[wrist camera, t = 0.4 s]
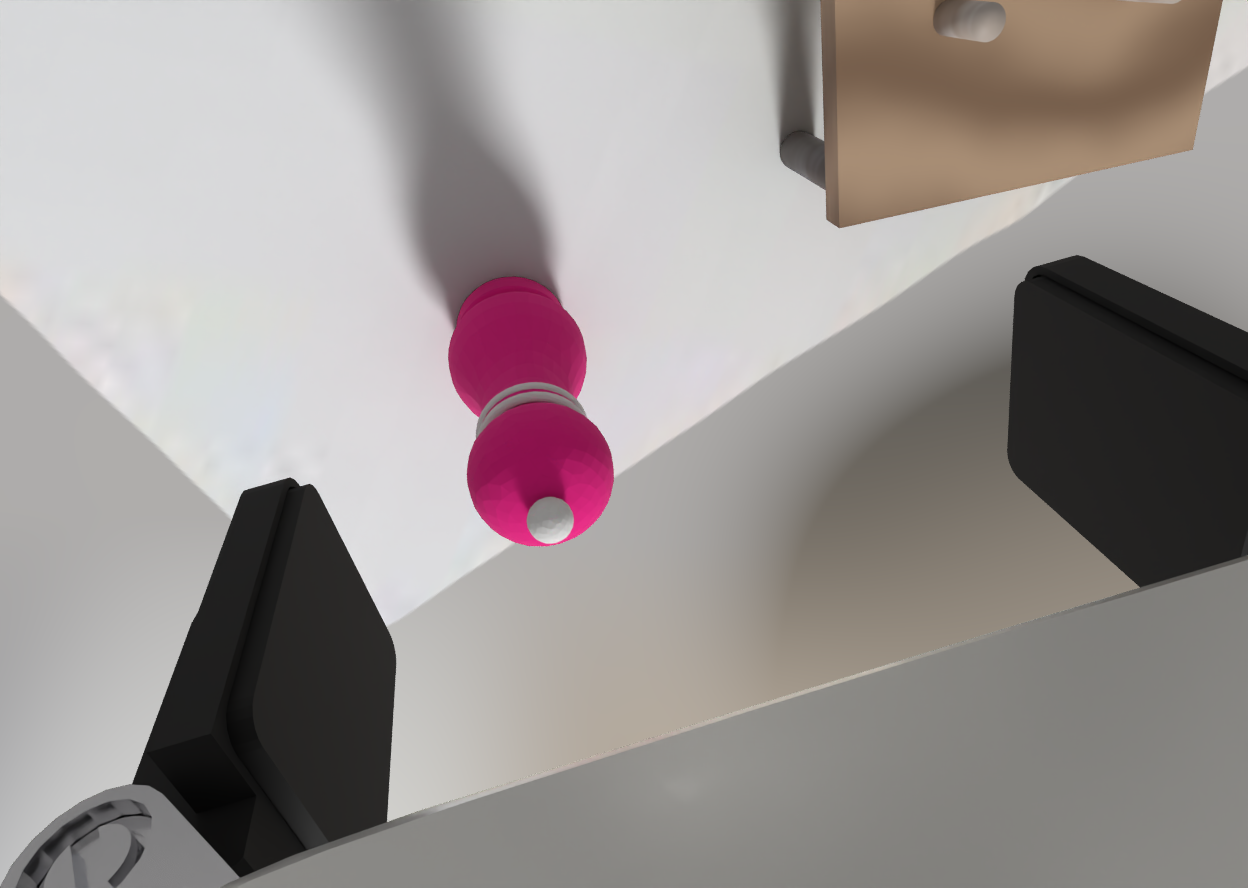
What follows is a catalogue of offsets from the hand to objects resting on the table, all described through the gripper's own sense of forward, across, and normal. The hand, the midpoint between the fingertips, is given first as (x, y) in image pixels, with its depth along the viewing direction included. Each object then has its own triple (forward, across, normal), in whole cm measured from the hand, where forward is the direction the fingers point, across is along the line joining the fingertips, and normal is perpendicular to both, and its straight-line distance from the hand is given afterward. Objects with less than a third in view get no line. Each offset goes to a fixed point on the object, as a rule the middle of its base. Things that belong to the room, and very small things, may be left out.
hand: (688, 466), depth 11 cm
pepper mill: (+36, +3, +12) cm, 38 cm away
